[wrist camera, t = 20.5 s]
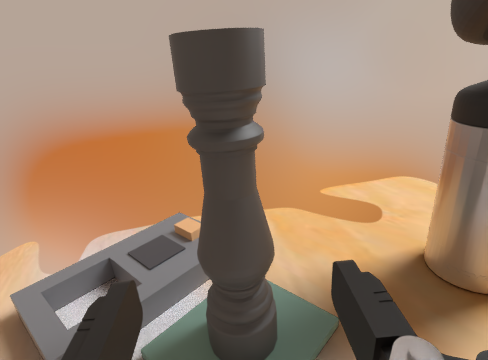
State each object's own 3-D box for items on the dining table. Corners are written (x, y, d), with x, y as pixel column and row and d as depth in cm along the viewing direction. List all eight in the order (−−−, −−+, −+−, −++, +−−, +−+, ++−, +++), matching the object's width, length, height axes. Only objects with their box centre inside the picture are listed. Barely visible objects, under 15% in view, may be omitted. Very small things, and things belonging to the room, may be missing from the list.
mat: (245, 275, 37) (244, 268, 37) (338, 325, 29) (338, 318, 29) (142, 357, 28) (140, 349, 27) (240, 464, 20) (239, 455, 20)
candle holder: (195, 345, 27) (141, 37, 18) (234, 300, 32) (209, 37, 22) (254, 380, 24) (228, 25, 14) (289, 324, 29) (286, 28, 19)
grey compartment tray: (182, 229, 48) (178, 205, 46) (238, 257, 40) (236, 230, 39) (19, 317, 33) (5, 286, 31) (59, 388, 25) (43, 352, 24)
